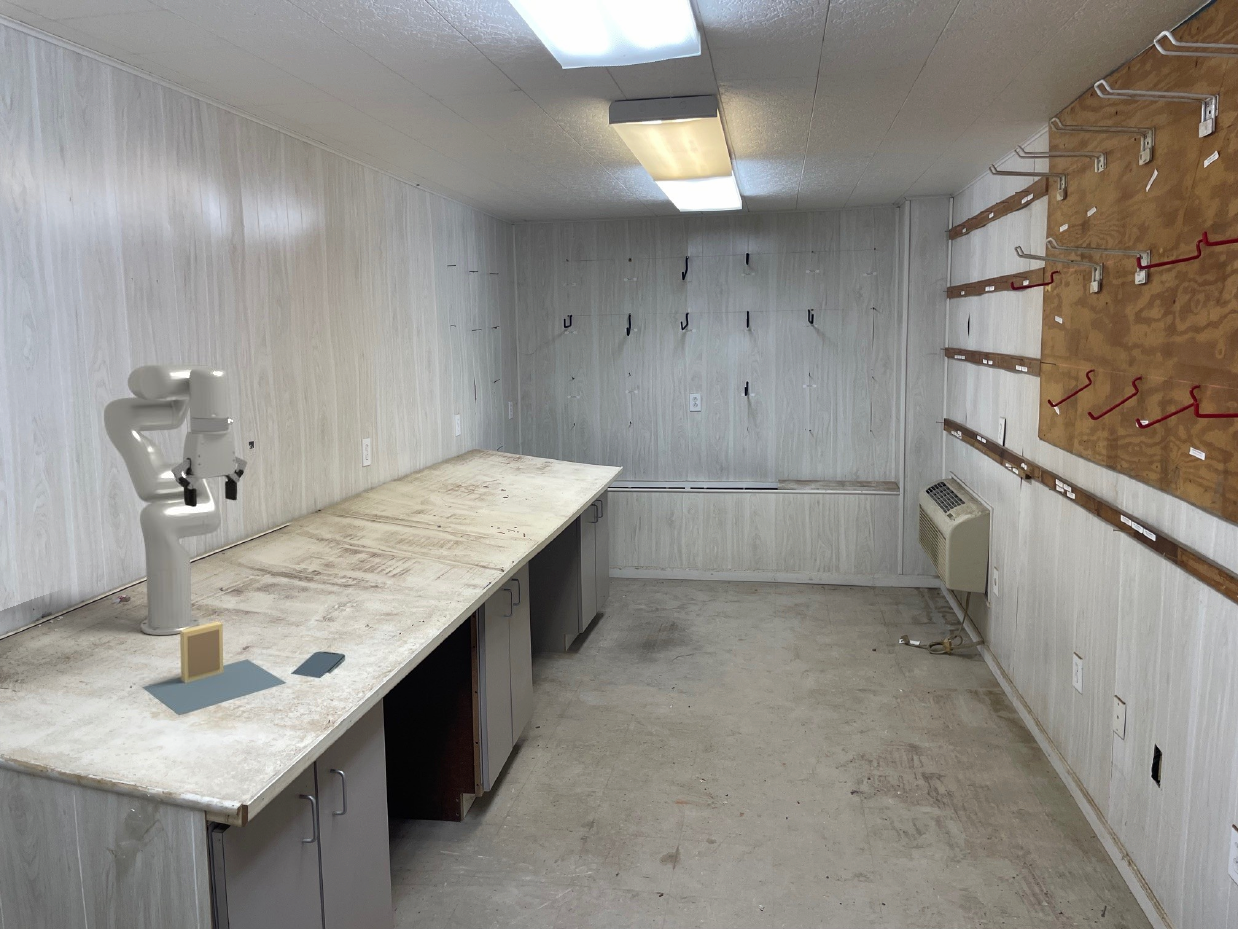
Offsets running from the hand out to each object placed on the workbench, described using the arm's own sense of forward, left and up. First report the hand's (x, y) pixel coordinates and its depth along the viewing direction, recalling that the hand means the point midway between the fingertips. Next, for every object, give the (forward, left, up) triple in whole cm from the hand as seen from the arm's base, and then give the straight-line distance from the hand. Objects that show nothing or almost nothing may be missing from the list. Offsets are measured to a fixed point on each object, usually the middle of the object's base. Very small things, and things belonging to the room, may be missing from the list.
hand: (211, 502), depth 187 cm
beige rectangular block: (+10, -7, -35) cm, 37 cm away
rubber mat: (+16, -7, -36) cm, 40 cm away
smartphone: (+21, +13, -37) cm, 44 cm away
